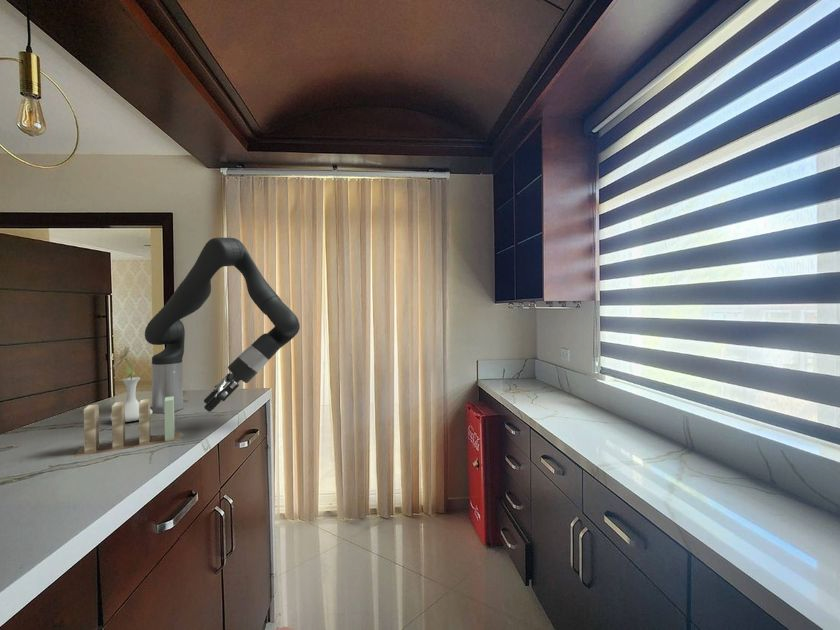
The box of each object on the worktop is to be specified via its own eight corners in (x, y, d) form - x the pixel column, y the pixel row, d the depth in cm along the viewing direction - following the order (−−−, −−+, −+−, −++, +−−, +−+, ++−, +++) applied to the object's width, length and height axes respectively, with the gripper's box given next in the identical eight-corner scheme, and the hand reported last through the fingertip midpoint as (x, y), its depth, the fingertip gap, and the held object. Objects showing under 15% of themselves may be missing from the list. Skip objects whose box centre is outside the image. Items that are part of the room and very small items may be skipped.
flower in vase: (115, 417, 127) (114, 344, 127) (156, 413, 132) (155, 342, 131) (102, 428, 115) (100, 348, 115) (147, 423, 120) (145, 346, 119)
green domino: (164, 441, 101) (164, 400, 101) (165, 435, 106) (165, 397, 105) (173, 439, 102) (173, 399, 102) (174, 434, 107) (173, 396, 106)
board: (73, 460, 91) (73, 456, 91) (81, 451, 97) (81, 447, 97) (180, 443, 102) (180, 439, 102) (181, 436, 108) (181, 432, 108)
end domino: (84, 453, 93) (83, 409, 92) (89, 447, 97) (88, 405, 97) (95, 452, 94) (94, 408, 93) (99, 445, 98) (98, 404, 98)
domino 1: (112, 449, 95) (111, 406, 95) (115, 443, 100) (115, 402, 100) (122, 447, 97) (121, 405, 96) (125, 441, 101) (124, 401, 101)
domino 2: (139, 445, 98) (138, 403, 98) (141, 439, 103) (141, 399, 102) (148, 443, 99) (148, 402, 99) (150, 438, 104) (150, 398, 103)
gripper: (236, 353, 119) (195, 393, 113) (241, 358, 106) (195, 403, 101) (255, 368, 122) (215, 408, 116) (261, 375, 109) (218, 420, 104)
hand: (206, 406), depth 108 cm, fingers open, 8 cm apart
